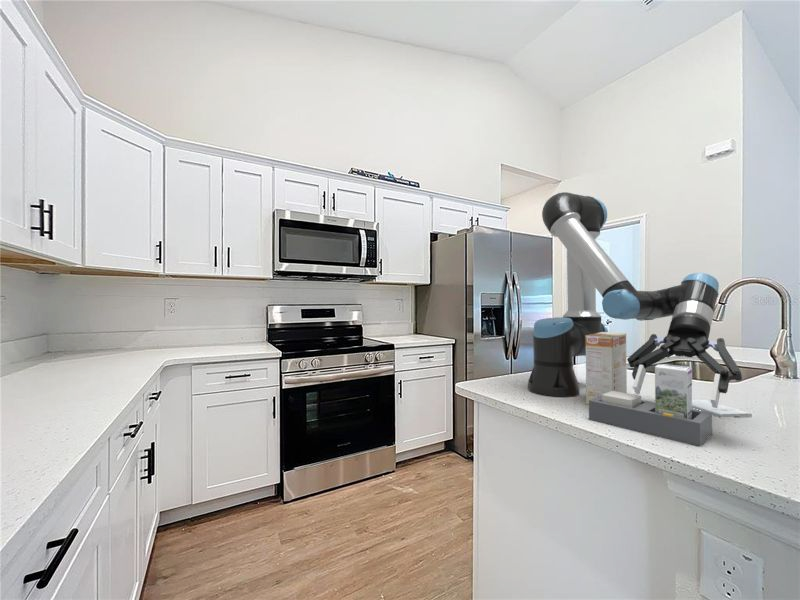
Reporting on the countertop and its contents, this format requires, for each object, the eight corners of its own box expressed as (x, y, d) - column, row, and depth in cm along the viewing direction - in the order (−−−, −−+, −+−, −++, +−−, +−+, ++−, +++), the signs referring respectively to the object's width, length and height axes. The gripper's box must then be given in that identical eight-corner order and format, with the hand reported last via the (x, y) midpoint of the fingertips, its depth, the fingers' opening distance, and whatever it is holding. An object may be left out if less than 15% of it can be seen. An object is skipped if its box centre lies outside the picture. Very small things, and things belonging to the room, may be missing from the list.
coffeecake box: (601, 394, 109) (601, 331, 109) (628, 399, 104) (627, 333, 104) (584, 404, 99) (584, 334, 99) (613, 410, 93) (613, 336, 94)
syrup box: (693, 432, 77) (692, 366, 77) (687, 439, 73) (687, 369, 73) (661, 425, 81) (660, 362, 82) (654, 431, 77) (654, 365, 78)
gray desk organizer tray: (588, 419, 86) (588, 394, 86) (606, 410, 93) (606, 387, 93) (700, 446, 70) (700, 415, 70) (712, 433, 76) (711, 406, 76)
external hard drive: (705, 405, 100) (752, 419, 88) (678, 405, 100) (721, 420, 87) (705, 399, 100) (751, 412, 88) (678, 400, 100) (721, 413, 87)
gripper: (765, 338, 77) (755, 421, 68) (635, 331, 97) (613, 395, 87) (762, 314, 74) (751, 398, 65) (628, 312, 94) (604, 376, 84)
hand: (672, 396), depth 76 cm, fingers open, 13 cm apart
